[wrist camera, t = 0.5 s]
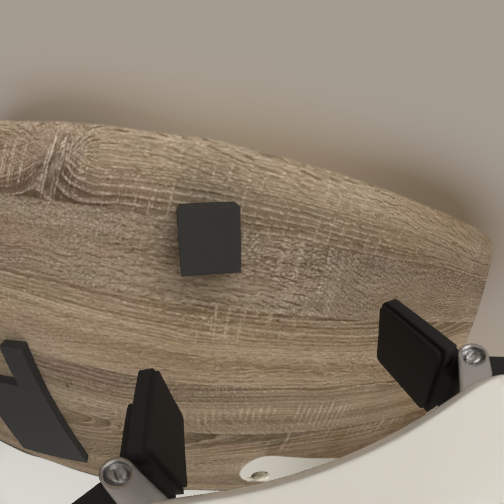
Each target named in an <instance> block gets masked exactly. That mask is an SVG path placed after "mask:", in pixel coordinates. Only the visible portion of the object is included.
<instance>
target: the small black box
mask: <svg viewBox="0 0 504 504" xmlns="http://www.w3.org/2000/svg"><path fill="white" fill-rule="evenodd" d="M177 224H178V240H179V254H180V266H181V276H191V275H208V274H224V273H239V272H241V239H240V206H239V205H238V204H237V203H235V202H210V203H189V204H179V206H178V208H177Z"/></svg>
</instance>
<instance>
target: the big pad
mask: <svg viewBox="0 0 504 504" xmlns="http://www.w3.org/2000/svg"><path fill="white" fill-rule="evenodd" d="M0 349H1V351H2V353H3V355H4V358H5V360H6V362H7V364H8V366H9V368H10V370H11V372H12V374H13V376H14V378H12V377H7V376H2V375H0V416H1V418H2V419H3V421H4V422H5V424H6V425H7V426H8V428H9V429H10V430H11V432H12V433H13V435H14V436H15V437H16V438H17V440H18V441H19V442H20V444H21V445H22V446H23V447H24V448H26V449H29V450H33V451H36V452H40V453H44V454H47V455H52V456H56V457H60V458H65V459H70V460H75V461H80V462H86V463H87V460H88V454H87V453H86V452H85V450H84V449H83V447H82V446H81V445H80V443H79V442H78V440H77V439H76V437H75V436H74V434H73V432H72V431H71V429H70V428H69V426H68V425H67V423H66V421H65V420H64V418H63V416H62V415H61V413H60V411H59V409H58V408H57V406H56V404H55V402H54V400H53V399H52V397H51V395H50V393H49V391H48V389H47V387H46V385H45V383H44V381H43V379H42V377H41V375H40V372H39V370H38V368H37V366H36V364H35V361H34V359H33V357H32V354H31V352H30V350H29V347H28V345H27V342H21V341H12V340H4V341H3V343H2V344H1V345H0Z"/></svg>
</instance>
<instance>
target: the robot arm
mask: <svg viewBox="0 0 504 504" xmlns="http://www.w3.org/2000/svg"><path fill="white" fill-rule="evenodd" d="M456 346H457V345H456V344H454V343H453V342H452V341H451V340H449V339H448V338H447V337H445V336H444V335H443V334H442V333H440V332H439V331H438V330H436V329H435V328H434V327H433V326H431V325H430V324H429V323H427V322H426V321H425V320H423V319H422V318H421V317H420V316H418V315H417V314H416V313H414V312H413V311H412V310H410V309H409V308H408V307H406V306H405V305H404V304H402V303H401V302H399V301H398V300H396V299H393V300H391V301H388V302H386V303H384V304H383V305H382V308H381V309H380V318H379V335H378V348H377V358H378V360H379V362H380V363H381V364H382V365H383V366H384V368H385V369H386V370H387V371H388V372H389V373H390V374H391V375H392V377H393V378H394V379H395V380H396V381H397V382H398V383H399V385H400V386H401V387H402V388H403V389H404V390H405V391H406V393H407V394H408V395H409V396H410V397H411V398H412V399H413V401H414V402H415V403H416V404H417V405H418V406H419V407H420V408H424V409H425V410H426V411H427V412H428V411H430V410H431V409H433V408H434V407H436V406H438V407H437V408H435V409H434V410H432V411H431V412H429V413H427V414H426V415H424V416H423V417H421V418H419V419H418V420H416V421H414V422H412V423H411V424H409V425H407V426H405V427H404V428H402V429H400V430H398V431H396V432H394V433H393V434H391V435H389V436H387V437H385V438H383V439H381V440H379V441H377V442H375V443H373V444H370V445H368V446H366V447H364V448H362V449H360V450H357V451H355V452H353V453H350V454H348V455H346V456H343V457H341V458H338V459H336V460H333V461H331V462H328V463H326V464H323V465H320V466H317V467H314V468H312V469H308V470H305V471H302V472H299V473H296V474H293V475H289V476H286V477H282V478H279V479H275V480H271V481H267V482H263V483H259V484H255V485H250V486H246V487H241V488H236V489H231V490H226V491H220V492H214V493H208V494H200V495H194V496H187V497H180V498H176V495H177V494H184V490H183V487H187V475H186V460H185V443H184V420H183V416H182V413H181V411H180V409H179V408H178V406H177V404H176V402H175V400H174V399H173V397H172V395H171V393H170V391H169V389H168V387H167V385H166V384H165V382H164V380H163V378H162V376H161V374H160V372H159V371H155V370H154V369H153V368H151V369H145V370H140V371H139V372H138V377H137V383H136V388H135V394H134V400H133V404H129V405H128V408H127V413H126V418H125V425H124V431H123V438H122V445H121V453H120V457H115V458H111V459H109V460H107V461H106V462H105V463H104V464H103V465H102V466H101V468H100V470H99V479H100V481H101V482H100V483H98V484H97V485H96V486H95V487H94V488H92V489H91V490H89V491H88V492H87V493H86V494H84V495H83V496H81V497H80V498H79V499H77V500H76V501H75V502H74V503H72V504H504V357H490V356H489V354H488V352H487V351H486V349H485V348H484V347H482V346H481V345H478V344H466V345H464V346H462V347H461V348H460V350H458V349H457V348H456Z"/></svg>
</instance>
